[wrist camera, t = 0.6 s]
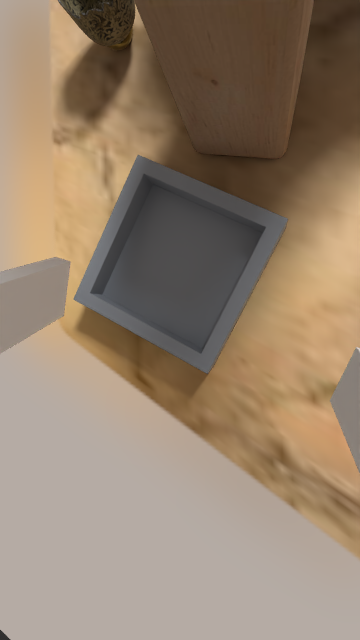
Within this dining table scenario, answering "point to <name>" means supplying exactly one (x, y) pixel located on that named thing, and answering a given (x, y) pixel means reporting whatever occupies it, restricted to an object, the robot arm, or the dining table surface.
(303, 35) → the wooden block
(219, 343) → the gray square tray
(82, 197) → the dining table surface
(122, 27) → the cup
